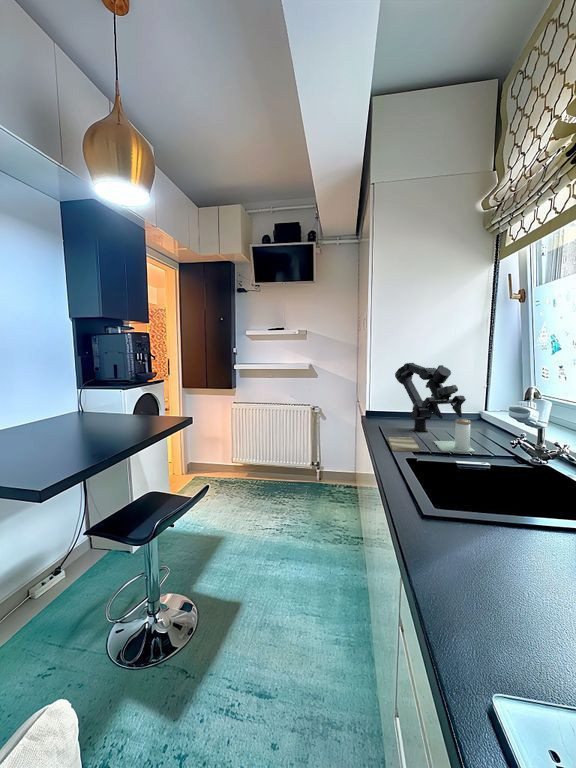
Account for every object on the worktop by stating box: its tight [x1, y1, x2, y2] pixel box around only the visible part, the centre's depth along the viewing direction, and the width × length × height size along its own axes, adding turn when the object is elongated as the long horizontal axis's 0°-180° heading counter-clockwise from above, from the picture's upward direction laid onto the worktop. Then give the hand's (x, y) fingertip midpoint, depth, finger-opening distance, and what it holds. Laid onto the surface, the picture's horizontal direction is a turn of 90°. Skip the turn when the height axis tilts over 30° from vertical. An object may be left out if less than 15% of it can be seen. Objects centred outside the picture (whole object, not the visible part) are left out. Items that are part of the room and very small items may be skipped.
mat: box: [432, 440, 476, 453], centre depth 141 cm, size 13×13×1 cm
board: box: [387, 436, 421, 453], centre depth 144 cm, size 16×11×2 cm
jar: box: [454, 418, 472, 450], centre depth 136 cm, size 6×6×12 cm
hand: (451, 417), depth 143 cm, fingers open, 9 cm apart
